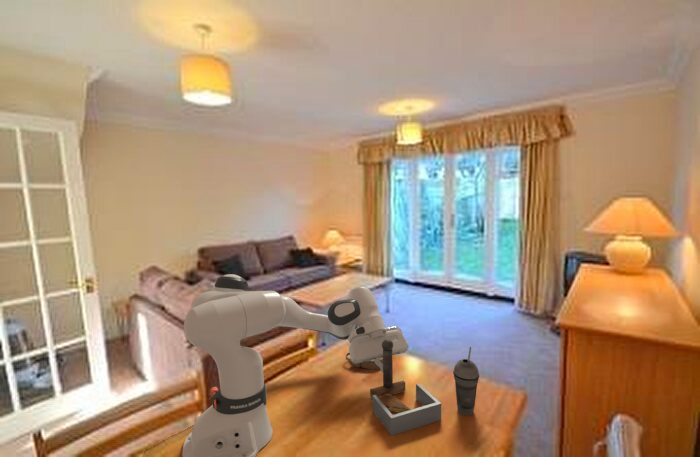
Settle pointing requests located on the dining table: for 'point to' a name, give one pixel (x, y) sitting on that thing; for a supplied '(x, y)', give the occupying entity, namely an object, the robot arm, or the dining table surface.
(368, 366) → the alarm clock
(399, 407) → the shard
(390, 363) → the ball-topped joystick
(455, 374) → the beverage cup
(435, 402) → the box
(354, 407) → the dining table surface
